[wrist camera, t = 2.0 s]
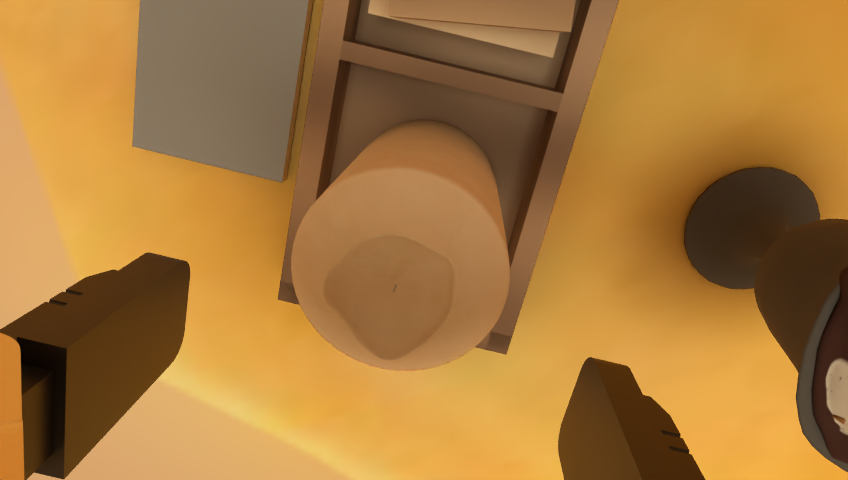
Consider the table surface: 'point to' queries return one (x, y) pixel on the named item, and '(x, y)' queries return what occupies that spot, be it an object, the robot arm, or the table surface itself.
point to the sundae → (785, 284)
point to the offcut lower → (484, 32)
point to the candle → (406, 251)
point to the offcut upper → (490, 12)
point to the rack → (451, 116)
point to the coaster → (221, 81)
